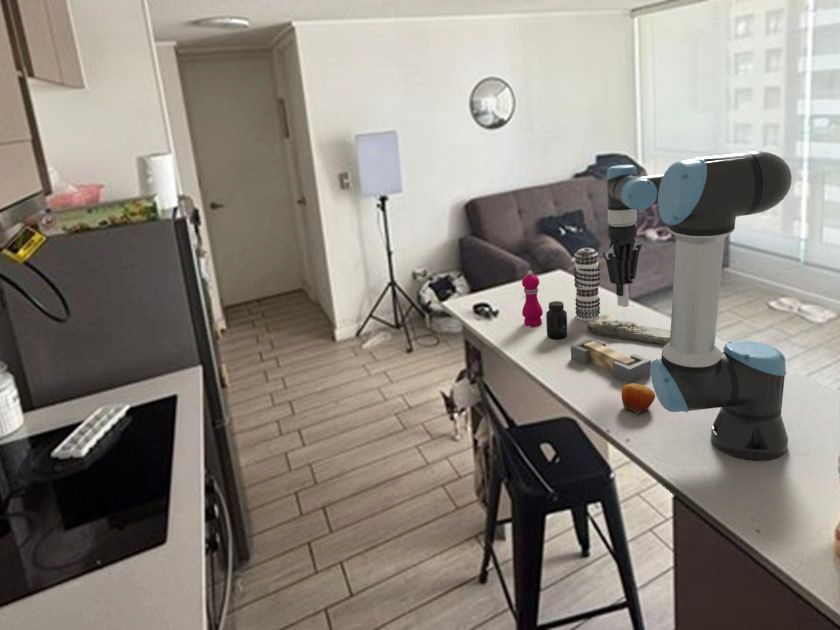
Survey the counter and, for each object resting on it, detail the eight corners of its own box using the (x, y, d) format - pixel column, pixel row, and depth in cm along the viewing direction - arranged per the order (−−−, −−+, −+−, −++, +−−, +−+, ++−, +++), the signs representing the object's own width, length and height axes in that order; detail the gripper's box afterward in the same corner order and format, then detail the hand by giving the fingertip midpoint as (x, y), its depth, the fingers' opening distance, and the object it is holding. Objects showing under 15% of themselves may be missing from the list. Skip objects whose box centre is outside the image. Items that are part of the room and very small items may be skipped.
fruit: (611, 408, 154) (619, 378, 154) (624, 411, 160) (632, 382, 160) (641, 417, 148) (649, 386, 149) (654, 420, 154) (661, 389, 154)
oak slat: (635, 376, 172) (635, 360, 171) (625, 379, 171) (625, 363, 169) (593, 355, 188) (593, 341, 186) (584, 359, 187) (583, 344, 185)
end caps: (650, 374, 172) (651, 360, 170) (629, 383, 168) (629, 369, 166) (591, 351, 191) (591, 338, 189) (571, 359, 187) (570, 345, 186)
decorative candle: (607, 316, 217) (605, 248, 208) (587, 323, 213) (586, 254, 204) (588, 310, 224) (586, 244, 216) (569, 317, 220) (567, 250, 212)
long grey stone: (688, 356, 183) (698, 346, 190) (690, 340, 181) (700, 330, 188) (580, 333, 204) (593, 324, 211) (581, 318, 203) (594, 310, 210)
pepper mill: (521, 327, 216) (518, 274, 209) (524, 320, 223) (520, 268, 216) (542, 327, 214) (539, 273, 207) (544, 320, 220) (541, 267, 214)
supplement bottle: (568, 340, 201) (566, 306, 197) (547, 341, 202) (545, 307, 198) (567, 332, 207) (566, 299, 203) (547, 333, 209) (545, 300, 205)
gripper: (627, 217, 171) (628, 297, 178) (594, 226, 165) (596, 308, 172) (649, 220, 165) (649, 302, 172) (616, 229, 159) (617, 314, 166)
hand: (623, 305), depth 172 cm, fingers closed
